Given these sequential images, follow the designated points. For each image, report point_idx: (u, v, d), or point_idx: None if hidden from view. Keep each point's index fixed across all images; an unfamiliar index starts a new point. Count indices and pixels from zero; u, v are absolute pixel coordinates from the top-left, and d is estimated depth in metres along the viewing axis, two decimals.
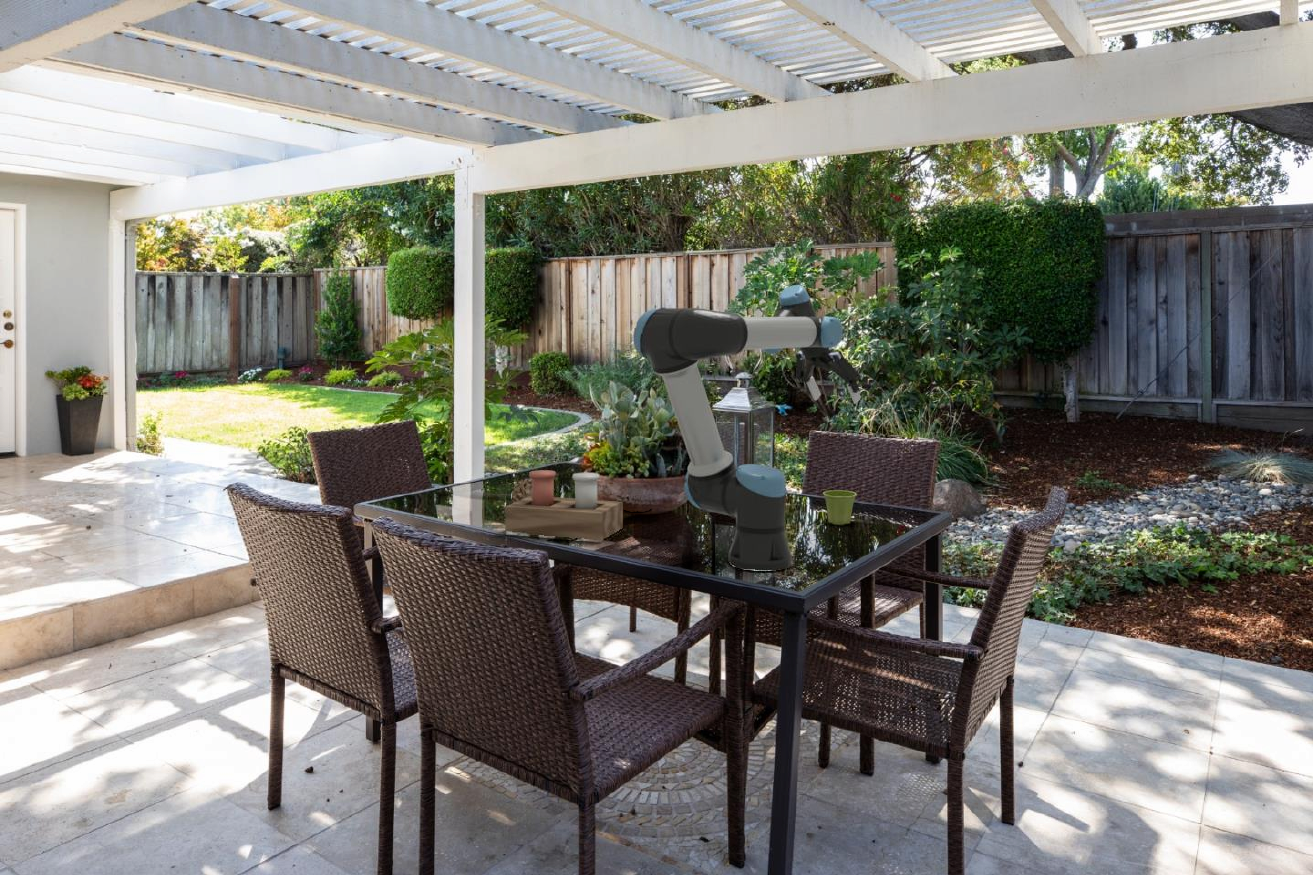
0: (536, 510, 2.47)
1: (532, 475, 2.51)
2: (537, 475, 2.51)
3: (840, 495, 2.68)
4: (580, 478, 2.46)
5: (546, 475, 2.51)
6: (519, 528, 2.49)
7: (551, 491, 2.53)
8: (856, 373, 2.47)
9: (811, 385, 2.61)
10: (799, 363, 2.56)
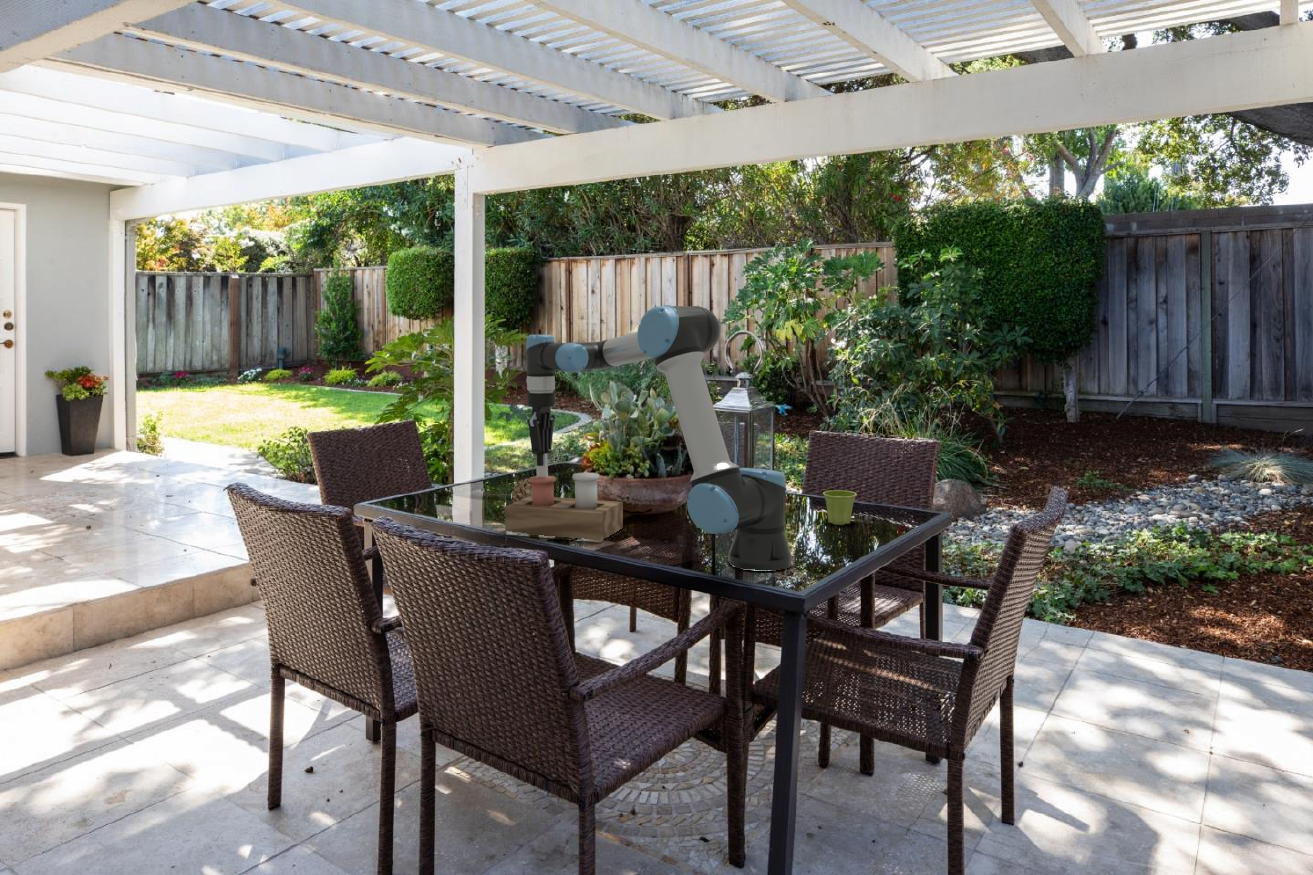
0: (536, 510, 2.47)
1: (532, 481, 2.52)
2: (537, 481, 2.51)
3: (840, 495, 2.68)
4: (580, 478, 2.46)
5: (546, 481, 2.51)
6: (519, 528, 2.49)
7: (551, 497, 2.53)
8: None
9: None
10: (538, 429, 2.48)
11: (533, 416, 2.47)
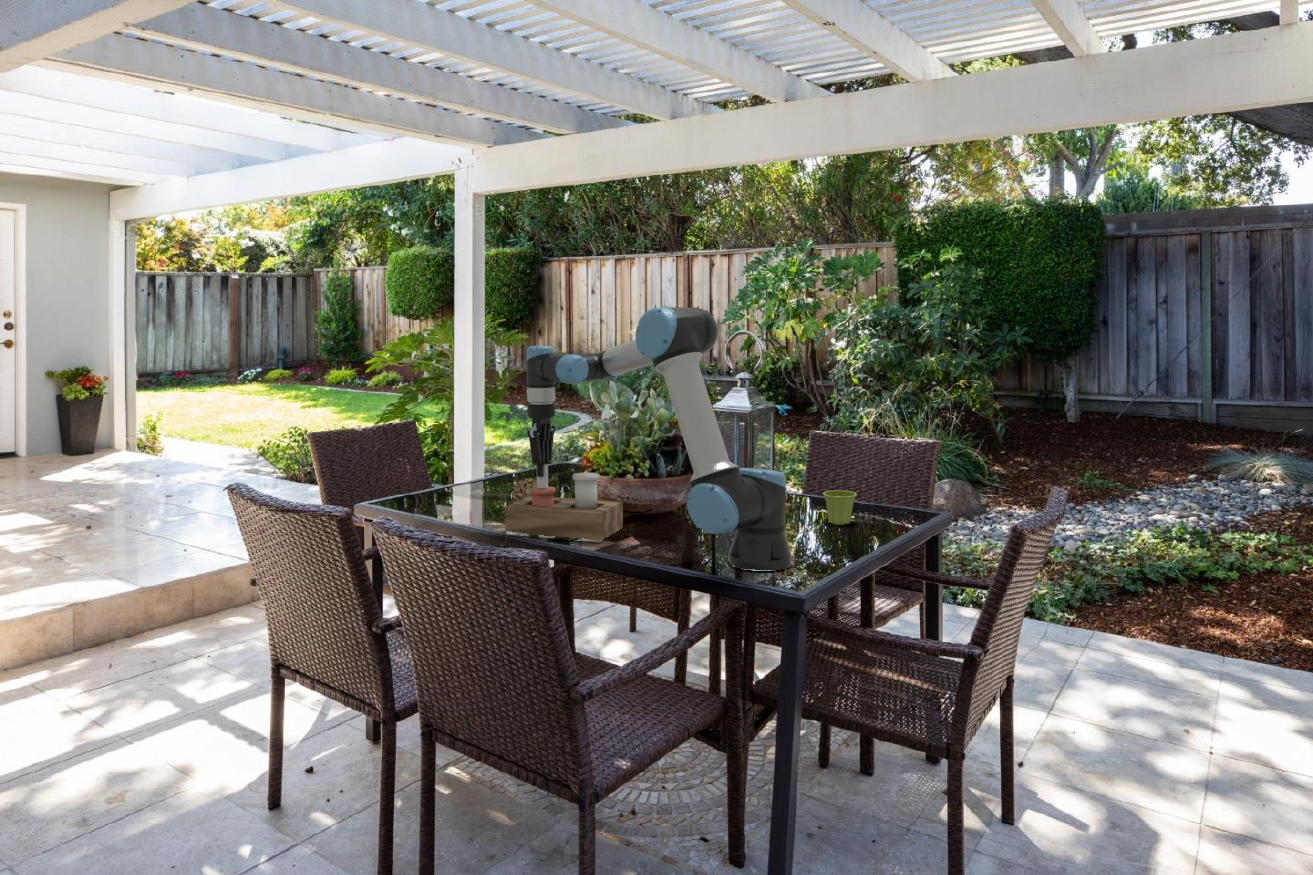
0: (536, 510, 2.47)
1: (532, 492, 2.52)
2: (537, 492, 2.51)
3: (840, 495, 2.68)
4: (580, 478, 2.46)
5: (546, 492, 2.51)
6: (519, 528, 2.49)
7: None
8: None
9: None
10: (538, 440, 2.48)
11: (533, 427, 2.48)
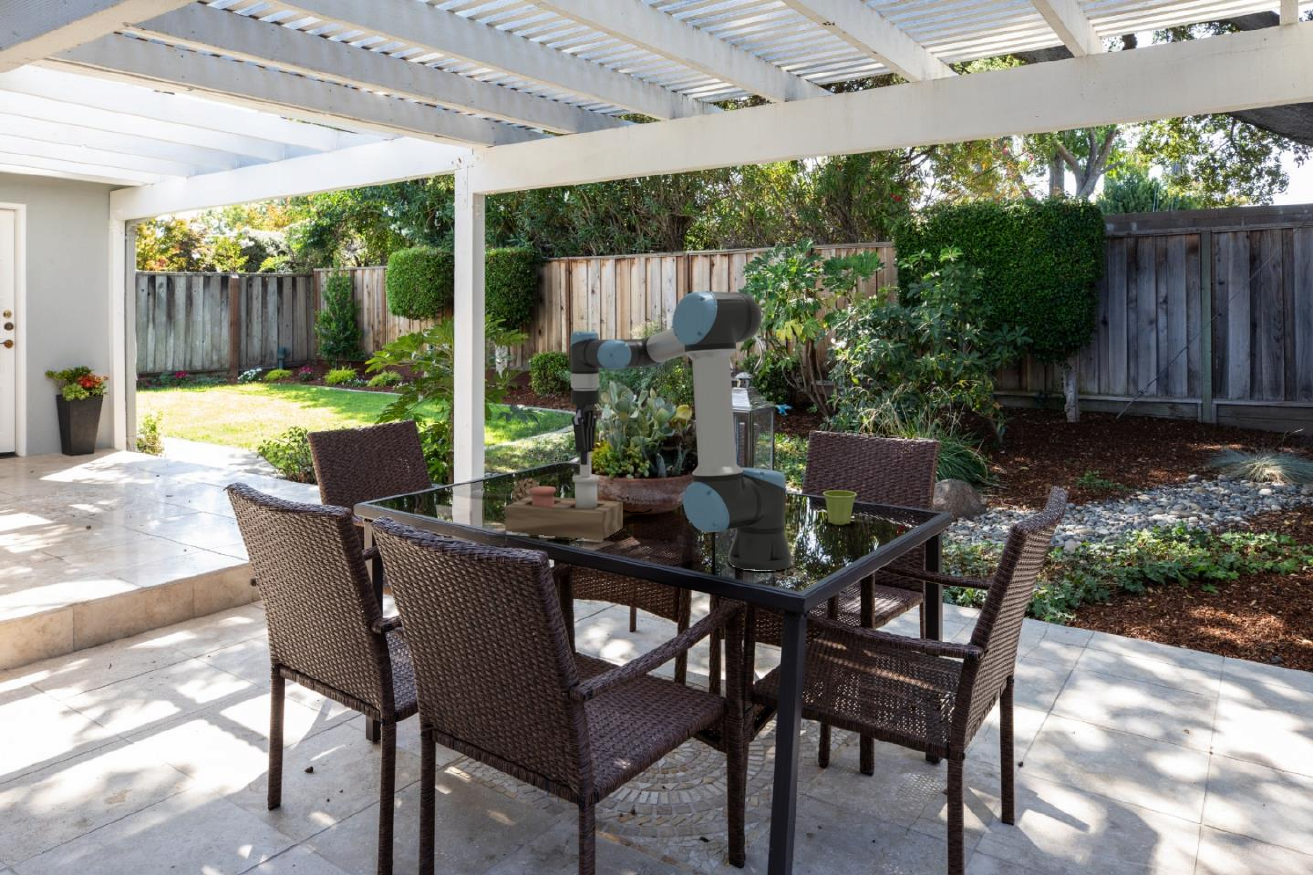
0: (536, 510, 2.47)
1: (532, 492, 2.52)
2: (537, 492, 2.51)
3: (840, 495, 2.68)
4: (580, 480, 2.47)
5: (546, 492, 2.51)
6: (519, 528, 2.49)
7: None
8: None
9: None
10: (582, 427, 2.44)
11: (577, 414, 2.43)
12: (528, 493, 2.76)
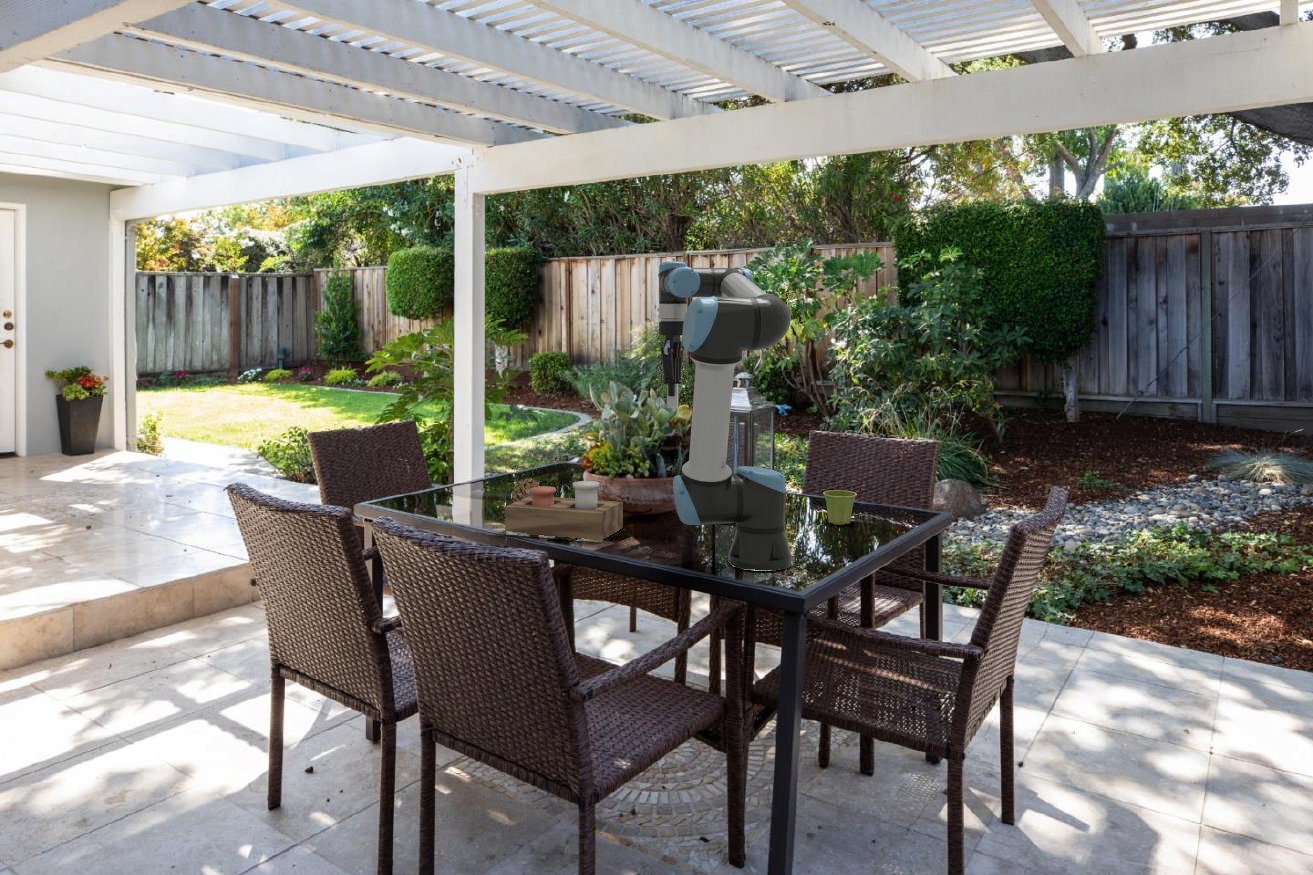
0: (536, 510, 2.47)
1: (532, 492, 2.52)
2: (537, 492, 2.51)
3: (840, 495, 2.68)
4: (580, 486, 2.47)
5: (546, 492, 2.51)
6: (519, 528, 2.49)
7: None
8: None
9: None
10: (672, 357, 2.44)
11: (667, 344, 2.43)
12: (528, 493, 2.76)
